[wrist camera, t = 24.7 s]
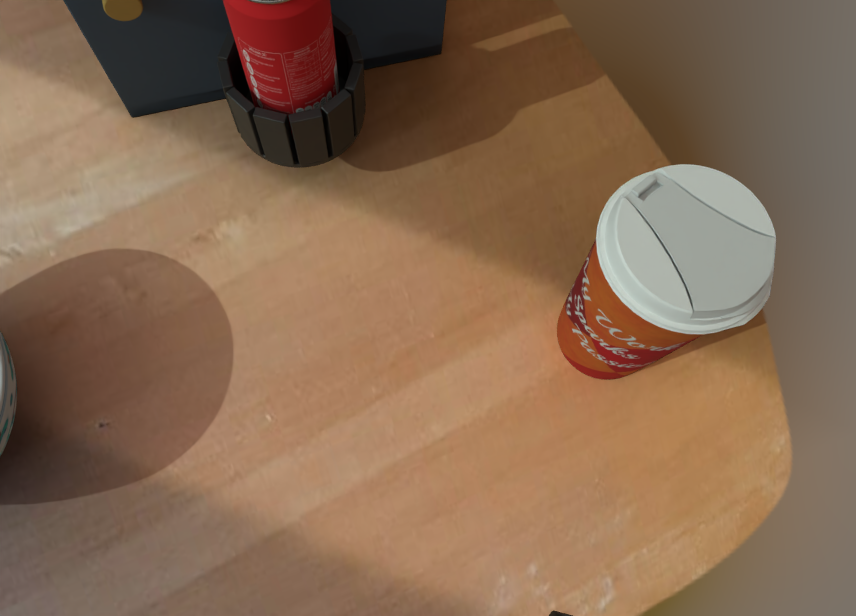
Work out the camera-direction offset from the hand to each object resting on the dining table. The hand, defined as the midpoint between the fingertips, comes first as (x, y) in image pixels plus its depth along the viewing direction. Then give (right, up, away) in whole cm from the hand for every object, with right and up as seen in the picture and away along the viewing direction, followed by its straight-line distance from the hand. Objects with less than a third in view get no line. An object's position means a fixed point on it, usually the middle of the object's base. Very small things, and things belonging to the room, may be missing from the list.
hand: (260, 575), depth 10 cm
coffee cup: (+13, +2, +36) cm, 39 cm away
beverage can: (-6, +16, +35) cm, 39 cm away
